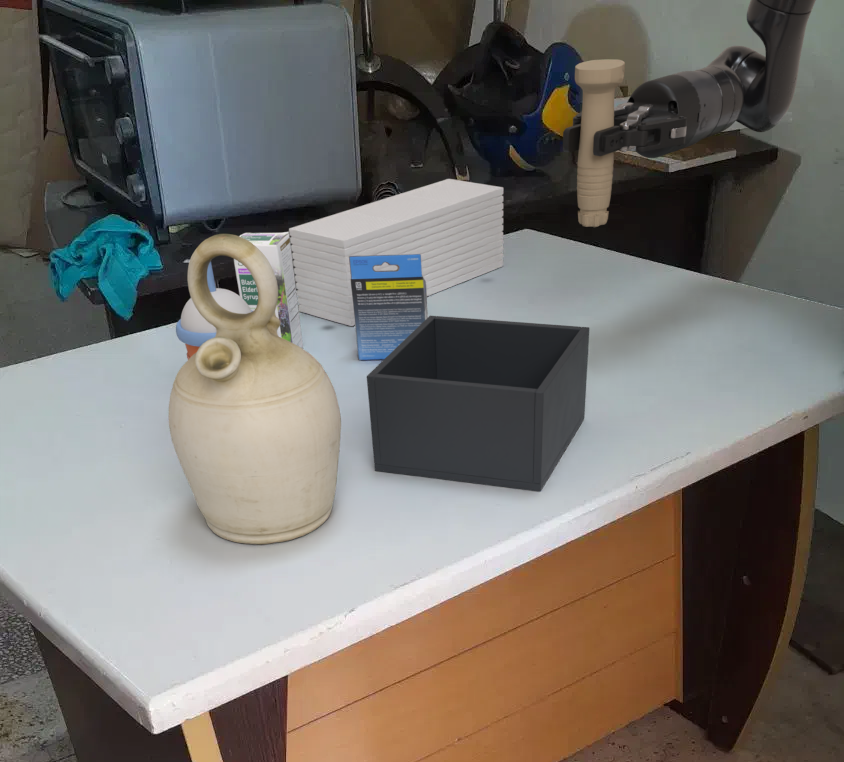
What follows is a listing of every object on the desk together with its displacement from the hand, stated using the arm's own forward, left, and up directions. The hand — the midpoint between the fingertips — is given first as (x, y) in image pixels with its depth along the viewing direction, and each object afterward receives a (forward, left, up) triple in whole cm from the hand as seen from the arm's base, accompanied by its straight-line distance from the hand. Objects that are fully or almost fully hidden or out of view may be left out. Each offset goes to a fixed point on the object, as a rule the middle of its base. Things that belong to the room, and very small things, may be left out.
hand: (581, 142), depth 107 cm
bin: (+4, +23, -24) cm, 33 cm away
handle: (-1, -3, -9) cm, 9 cm away
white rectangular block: (+31, -24, -24) cm, 46 cm away
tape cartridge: (+23, +1, -24) cm, 33 cm away
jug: (+19, +43, -24) cm, 53 cm away
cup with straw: (+34, +23, -24) cm, 47 cm away
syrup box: (+37, +6, -24) cm, 44 cm away
